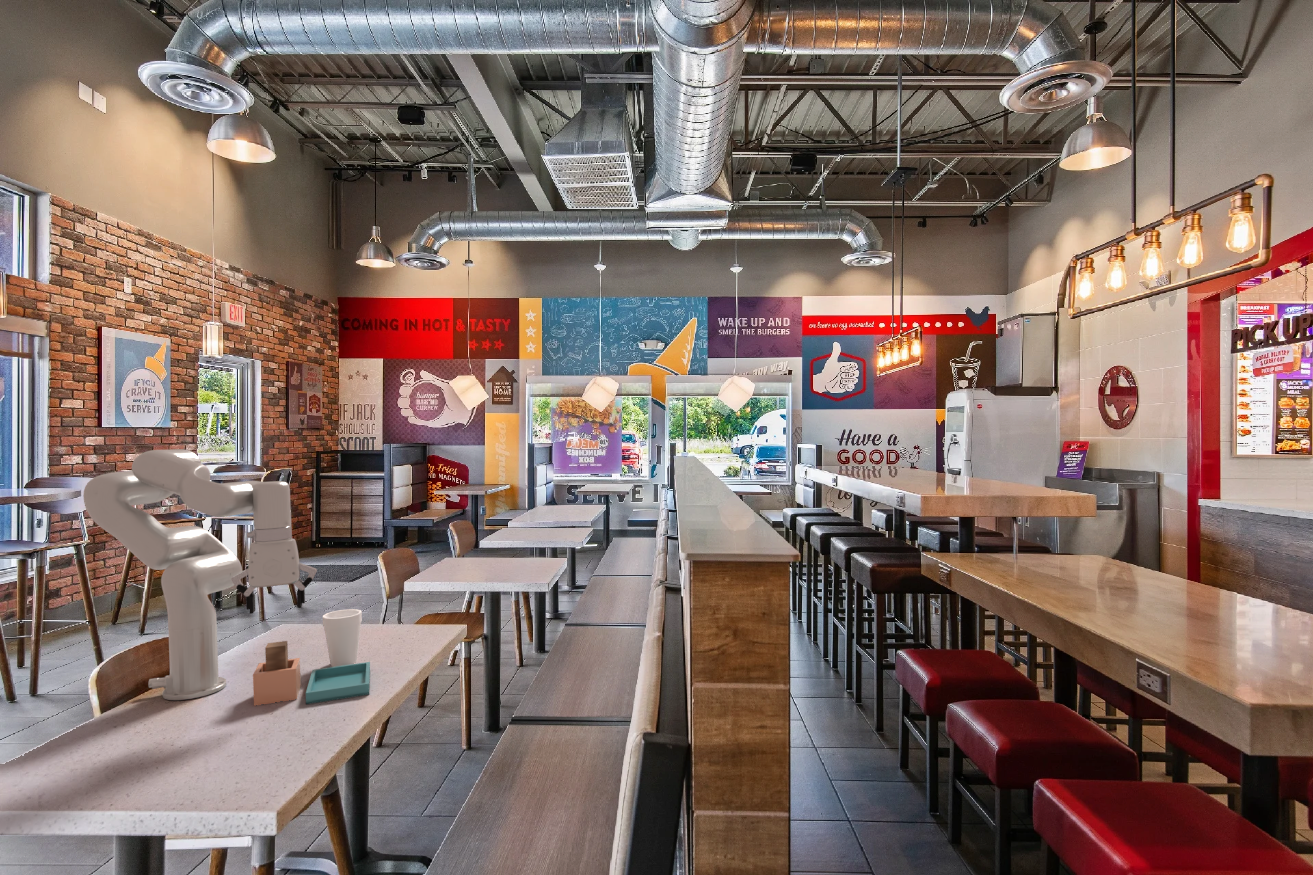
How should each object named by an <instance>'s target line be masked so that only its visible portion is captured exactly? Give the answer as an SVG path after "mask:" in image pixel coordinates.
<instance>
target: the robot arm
mask: <svg viewBox="0 0 1313 875" xmlns="http://www.w3.org/2000/svg"><path fill="white" fill-rule="evenodd" d="M172 495H176V496H177V495H178V496H179V497H180V499H181V501H182V502H183V504H184V505H185V506H186V507H187V508H189V509H191V510H194V511H196V512H199V513H202V514H205V515H207V516H212V517H218V518H226V517H232V516H238V515H246V514H247V515H248V514H253V528H254V529H253V530H252V531H248V532H246V538H247V539H252V540H253V541H254V542H251V543H250V545H249V552H248V565H247V566H248V568H246V569H245V570H243V567H242V564H241V562H240V560H239V558H238V557H237V555H236V554H234V552H233V551H232V550H230V548H228V547H227V546H226V545H225V544H224V543H223V542H222V541H220V540H219V539H218V538H217V537H215V535H213V534H212V533H211V532H210V531H208V530H207V529H205V528H203V527H201V526H196V525H187V526H179V527H167V526H165V525H164V524H162V523H161V522H159V521H158V520H157V519H156V518H155V517H154V516H153V515H151V514H150V513H149V512H147V511H144V510H142V509H140V508H136V507H135V506H139V505H140V506H141V505H149V504H154V503H158V502H161V501H164V500H166V499H167V498H170V497H171V496H172ZM83 504H84V506H85V507H84V508H85V509H86V511H87V514H88V516H90V518H91V519H92V521H93V522H94V523H95V524H97V526H98V527H100V528H101V529H102V530H104V531H105V532H107V533H108V534H109V535H111V536H113V537H114V538H115V539H116V540H117V541H119V542H120V543H121V544H122V545H123V546H124V547H125V548H126V549H127V550H128V551H129V552H130V553H132V554H133V555H134V556H135V557H136V558H137V559H138V560H139V561H141V563H143V564H144V565H145V566H146V567H148V568H149V569H152V570H155V571H156V570H157V571H158V570H159V571H161V570H164V571H163V572H162V575H161V578H160V579H161V580H160V583H161V589H162V592H163V597H164V601H165V604H166V610H167V627H168V628H167V629H168V649H169V650H168V652H169V653H168V654H169V656H168V657H169V675H165V676H164V677H154V678H149V679H148V688H149V689H150V688H151V689H152V690H154V689H156V690H157V689H159V688H163V691H162V692H161V693H162V699H165V700H169V701H183V700H192V699H197V698H201V697H206V696H208V695H212V694H215V693H217V692H219V691H221V690H223V689H224V688H225V687H226V685H227V679H226V678H224V677H221V676H219V656H218V654H219V653H218V652H219V651H218V626H217V625H218V622H217V613H216V609H215V607H214V605H213V603H212V602H211V600H210V598H209V597H208V595H210V594H214V593H216V592H220V591H224V590H228V589H230V588H231V587H232V588H233V587H235V588H236V590H237V591H239V592H240V594H242V595H243V596H244V597H245V602H246V603H245V604H246V605H245V606H246V610H247V611H249V615H251V614H254V613H255V612H256V594H255V592H254V591H255V589H256V588H258V589H259V588H267V587H277V586H286V585H294V586H295V587H296V588H297V591H296V604H297V605H296V606H297V608H298V609H302V607H303V604H305V603H306V594H305V593H306V591H305V589H306V588H307V587H308V586H309V585H310V584H311V583H312V581H313V579H314V578H315V575H316V574H317V572H318V569H317V568H315V567H312V566H310V565H308V564H305V563H302V562H300V558H299V557H300V556H299V550H298V545H297V541H296V539H295V538H293V535H292V534H293V533H292V532H293V531H292V529H293V528H292V510H291V509H292V506H291V490H290V485H289V483H288V482H287V481H284V480H282V481H281V480H277V481H276V480H275V481H259V480H247V481H244V480H243V481H234V482H232V481H231V482H225V483H224V482H223V483H219V482H214V481H211V471H210V469H209V468H208V467H207V466H206V465H205V464H203V463H202V462H201V459H200V457H199V456H198V455H197V454H196V453H195V452H193V451H191V450H189V449H184V448H183V449H181V448H179V449H177V448H176V449H175V448H174V449H155V450H154V449H152V450H147V451H145V452H142V453H141V454H138V455H137V456H136V457H135V458H134V459H133V462H132V464H131V470H129V471H128V470H127V471H115V472H108V473H107V472H106V473H104V474H100V475H96V476H95V477H93V478H92V479H90V480H89V481H88V482H87V483H86V484H85V486H84V490H83ZM301 571H302V572H306V573H308V576H307V577H306V579H304V581H303V580H302V579H301V578H300V577H301ZM247 576H248V585H249V587H248V586H246V585H245V584H243V583H242V581H241V579H243V578H245V577H247Z"/></svg>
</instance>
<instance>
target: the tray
mask: <svg viewBox="0 0 1313 875" xmlns="http://www.w3.org/2000/svg"><path fill="white" fill-rule="evenodd" d="M370 684H371V662H370V661H366V662H365V661H364V662H358V663H357V662H356V663H355V664H350V665H343V666H336V667H332V666H329V667H323V668H316V669H312V670H311V674H310V677H309V681H308V684H307V688H306V691H305V704H306V705H309V704H310V705H311V704H317V703H323V702H329V701H336V700H342V699H343V700H344V699H348V698H349V699H350V698H355V697H364V696H369V695H370V688H371V687H370V686H371V685H370Z"/></svg>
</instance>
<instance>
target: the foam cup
mask: <svg viewBox="0 0 1313 875" xmlns="http://www.w3.org/2000/svg"><path fill="white" fill-rule="evenodd" d="M362 613H363V611H362V610H361V609H356V608H355V609H354V608H351V609H350V608H349V609H339V610H333V611H330V612H327V613H325V614H323V615H322V626H323V628H324V634H325V640H326V641H325V642H326V645H327V652H328V658H329V663H330V667H336V666H343V665H350V664H354V663H355V662H356V663H357V662H358V655H359V646H360V644H359V643H360V635H361V625H362V622H363V617H362V615H363V614H362ZM356 663H355V664H356Z"/></svg>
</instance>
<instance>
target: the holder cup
mask: <svg viewBox="0 0 1313 875" xmlns="http://www.w3.org/2000/svg"><path fill="white" fill-rule="evenodd" d="M252 683H253V684H252V686H253V687H252V689H253V707H257V706H261V704H264V705H269V704H270V705H271V704H275V702H277V703H281V702H280V701H283V702H290V701H296V700H295V699H297V700H298V697H299V694H300V690H301V687H302V685H301V684H302V682H301V657H295V658H288V669H281V670H273V671H266V661H264V662H259V663H258V665H257V666H256V668H255V670H254V671H253V674H252ZM289 700H290V701H289ZM256 705H257V706H256Z"/></svg>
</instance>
